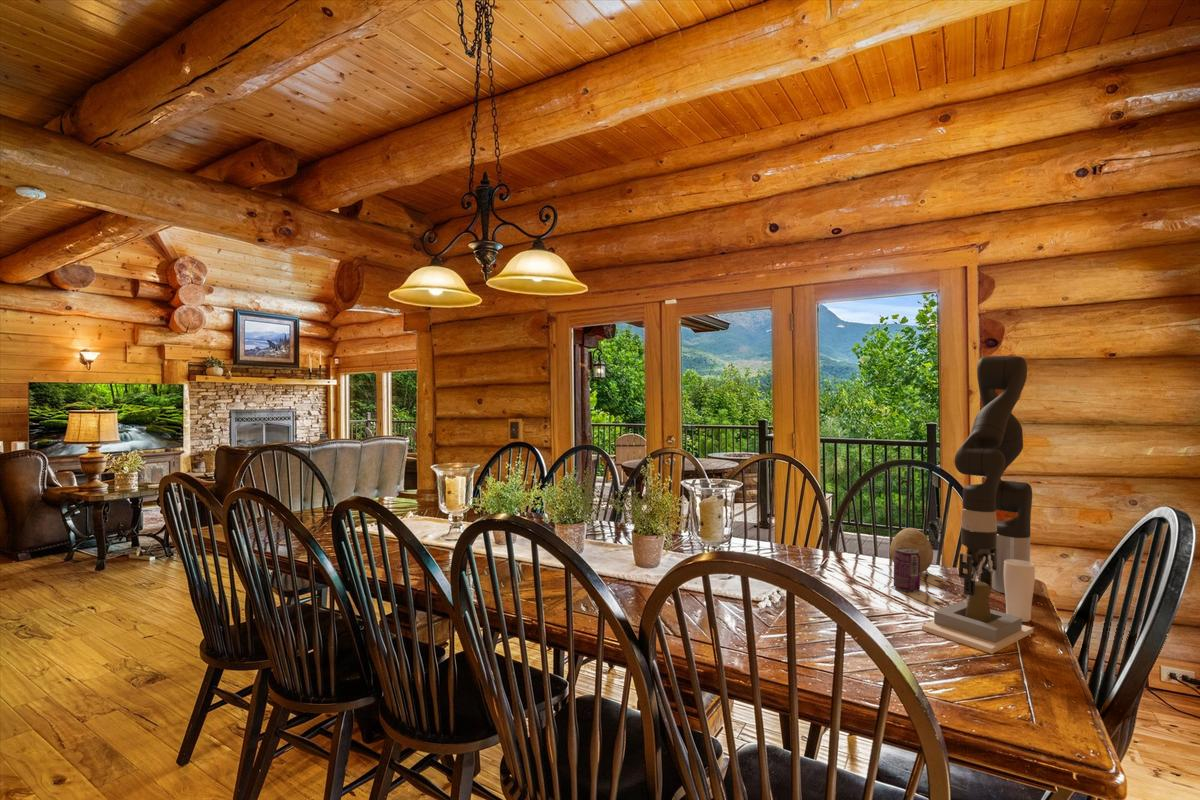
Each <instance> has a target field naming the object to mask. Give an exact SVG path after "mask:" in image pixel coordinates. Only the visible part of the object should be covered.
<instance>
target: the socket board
mask: <svg viewBox="0 0 1200 800" xmlns="http://www.w3.org/2000/svg"><path fill="white" fill-rule="evenodd" d="M967 603H968V601H964V600H961V601H959V602H955V603H953V604H950V605H947V606H945V607H943V608H940V609H938V610H934V611H933V612H934V613H933V614H934V615H933V620H932V621H929V622H927V623H924V624H922V625H921V631H924V632H926V633H928V634H929V633H930V634H933V635H935V636H938V637H941V638H944V639H947V640H949V641H953V642H956V643H959V644H961V645H964V646H967V647H971V648H973V649H977V650H980V651H981V652H986V653H988V654H990V655H992V654H994V653H996V652H998V651H1000V650H1002V649H1004V648H1006V647H1008V646H1010V645H1011V644H1014V643H1016V642H1018V641H1019V640H1022V639H1023V638H1025V637H1028V636H1030V635H1032V634H1033V633H1034V627H1031V626H1028V625H1024V624H1022V623H1023V622H1022V618H1020V617H1016V616H1013V615H1009V614H1006V612H1001V611H998V610H995V609H991V608H990V614H991V621H992V622H990V623H984V622H981V621H978V620H974V619H971V618H968V617H965V615H966V609H967Z"/></svg>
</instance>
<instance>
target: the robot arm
mask: <svg viewBox="0 0 1200 800" xmlns="http://www.w3.org/2000/svg"><path fill="white" fill-rule="evenodd" d="M976 369H977V370H976V374H977V375H976V377H977V383H978V390H979V395H980V401H981V406H982V408H981V409H980V410H979V412H978V413H977V414H976V416H975V418H974V422H973V424H972V428H971V431H970V434H969V435H968V437H966V440H965V441H964V442H963V443H961V446H959V448H958V450H957V451H956V454H955V457H954V467H955V469H956V470H957V471H958V472H959V473H960V474H962V475H967V476H968V475H969V476H976V477H977V476H978V477H986V478H985V481H984V482H983V483H978V484H976V483H975V484H968V485H965V486H964V487H963V489H962V511H961V515H960V516H961V517H960V519H961V521H960V522H961V523H960V524H961V525H960V543H961V545H963V546H965V547H966V548H967V551H966V553H962V552H960V554H959V564H958V577H959V578H962V579H963V580H964V582H963V593H964V594H965V595H966V596H967V595H968V596H969V595H971V596H973V595H975V581H976V577H977V576H978V574H980V582H984V583H986V584H988V585H989V586H990V588H991V589H992V590H994V591H996V592H999V593H1001V594H1004V595H1005V588H1004V561H1005V560H1008V559H1014V560H1022V561H1027V562H1030V563H1031V517H1032V516H1031V515H1032V506H1033V504H1032V503H1033V488H1032V486H1031V484H1030V483H1028V482H1026V481H1025V482H1024V481H1013V480H1003V479H1001V478H1002V477H1003V475H1004V472H1006V470H1007V469H1008V467H1009V466H1010V465H1011V464H1013V462H1014V461H1015V460H1016V459H1017V458H1018V456H1019V455H1020V454H1021V453H1022V451H1023V448H1024V437H1023V436H1024V435H1023V427H1022V425H1021V423H1020V421H1019V420H1018V418H1017V417H1016V416H1015V415H1014V413H1012V412H1013V409H1014V408H1015V406H1016V404H1017V402H1018V400H1019V397H1020V396H1021V394H1022V391H1023V390H1024V387H1025V384H1026V381H1027V378H1028V377H1027V376H1028V364H1027V362H1026V359H1025V358H1024V357H1022V356H1018V355H1017V356H1014V355H1013V356H1012V355H992V356H983V357H981V358H980V359H979V360H978V362H977V368H976ZM998 390H999V391H1000V390H1002V391H1001V393H999V395H998V392H997V391H998ZM997 511H1001V512H1010V513H1017V515H1016V516H1014V518H1010V519H1006V520H1001V521H998V519H997V518H998V517H997Z"/></svg>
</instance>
